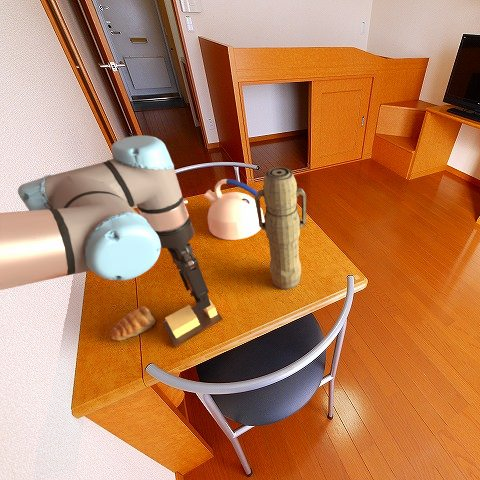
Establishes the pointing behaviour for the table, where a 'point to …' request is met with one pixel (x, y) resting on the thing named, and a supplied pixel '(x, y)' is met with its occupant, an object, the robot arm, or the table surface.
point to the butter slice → (211, 310)
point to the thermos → (282, 225)
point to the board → (204, 324)
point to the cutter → (190, 287)
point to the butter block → (182, 321)
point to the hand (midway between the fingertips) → (198, 296)
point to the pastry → (133, 324)
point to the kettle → (232, 212)
